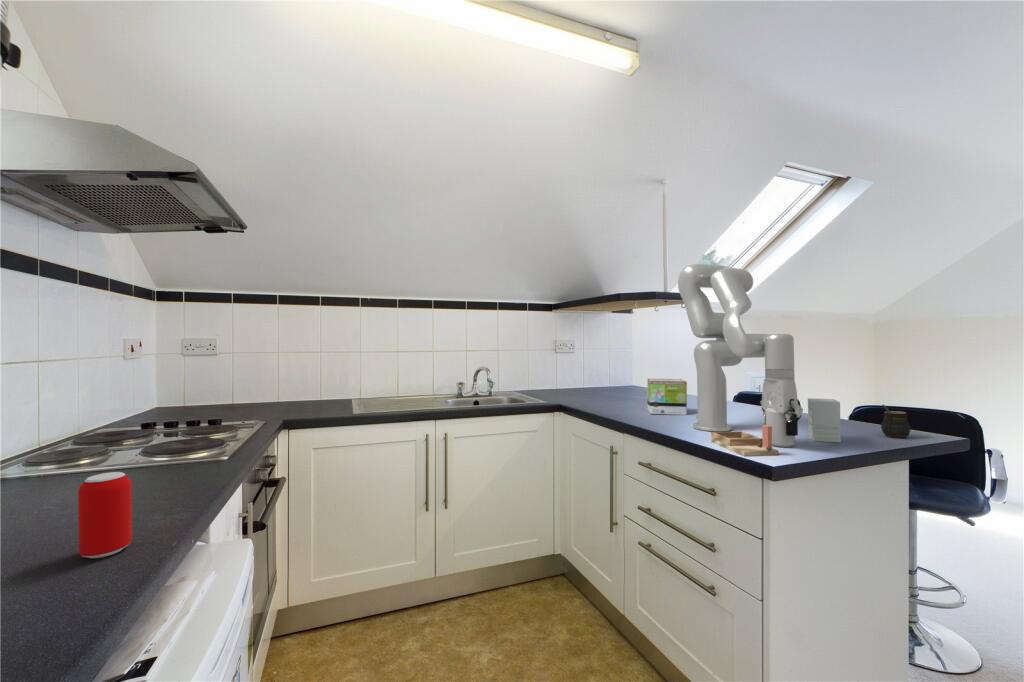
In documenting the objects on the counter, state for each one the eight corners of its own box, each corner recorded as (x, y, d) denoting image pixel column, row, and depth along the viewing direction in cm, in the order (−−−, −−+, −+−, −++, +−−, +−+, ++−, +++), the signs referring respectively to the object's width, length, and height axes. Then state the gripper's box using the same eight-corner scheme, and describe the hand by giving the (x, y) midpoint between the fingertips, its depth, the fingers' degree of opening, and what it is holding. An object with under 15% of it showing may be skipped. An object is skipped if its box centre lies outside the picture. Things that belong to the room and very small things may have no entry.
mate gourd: (902, 440, 136) (901, 408, 136) (874, 435, 143) (874, 405, 143) (916, 438, 138) (915, 406, 139) (888, 433, 146) (887, 403, 146)
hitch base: (711, 441, 137) (711, 432, 137) (741, 440, 138) (741, 431, 138) (743, 456, 120) (743, 445, 120) (778, 455, 121) (778, 444, 121)
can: (799, 448, 127) (799, 407, 127) (771, 447, 129) (771, 406, 129) (788, 442, 135) (788, 403, 135) (762, 441, 136) (761, 403, 136)
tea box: (650, 414, 187) (650, 380, 187) (647, 411, 197) (646, 378, 197) (687, 415, 185) (686, 380, 185) (682, 411, 195) (681, 378, 195)
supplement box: (835, 438, 140) (834, 398, 140) (841, 443, 133) (840, 401, 133) (807, 436, 143) (807, 397, 143) (812, 441, 136) (811, 400, 136)
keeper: (762, 424, 124) (766, 424, 124) (762, 446, 124) (766, 446, 124) (767, 426, 121) (771, 426, 122) (768, 448, 121) (772, 448, 122)
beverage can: (70, 565, 65) (69, 484, 65) (89, 547, 71) (88, 473, 71) (123, 556, 68) (122, 478, 68) (137, 539, 73) (136, 468, 73)
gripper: (749, 373, 140) (750, 427, 140) (787, 377, 123) (789, 438, 123) (772, 372, 141) (773, 426, 140) (813, 376, 123) (814, 438, 123)
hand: (780, 432), depth 131 cm, fingers open, 9 cm apart
